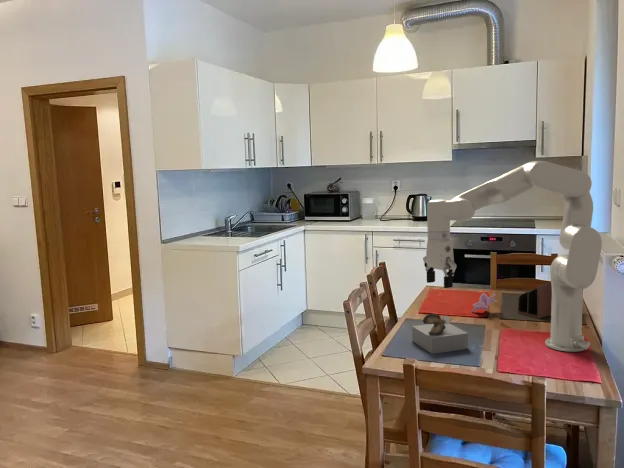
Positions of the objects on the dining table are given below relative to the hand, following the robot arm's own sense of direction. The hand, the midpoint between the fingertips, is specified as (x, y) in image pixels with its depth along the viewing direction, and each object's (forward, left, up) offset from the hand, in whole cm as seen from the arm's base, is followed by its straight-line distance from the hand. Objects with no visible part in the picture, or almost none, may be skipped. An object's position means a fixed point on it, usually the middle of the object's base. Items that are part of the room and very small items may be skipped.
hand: (439, 284), depth 178 cm
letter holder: (+14, -64, -22) cm, 69 cm away
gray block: (+1, -1, -23) cm, 23 cm away
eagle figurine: (0, +1, -17) cm, 17 cm away
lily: (+24, -41, -22) cm, 52 cm away
